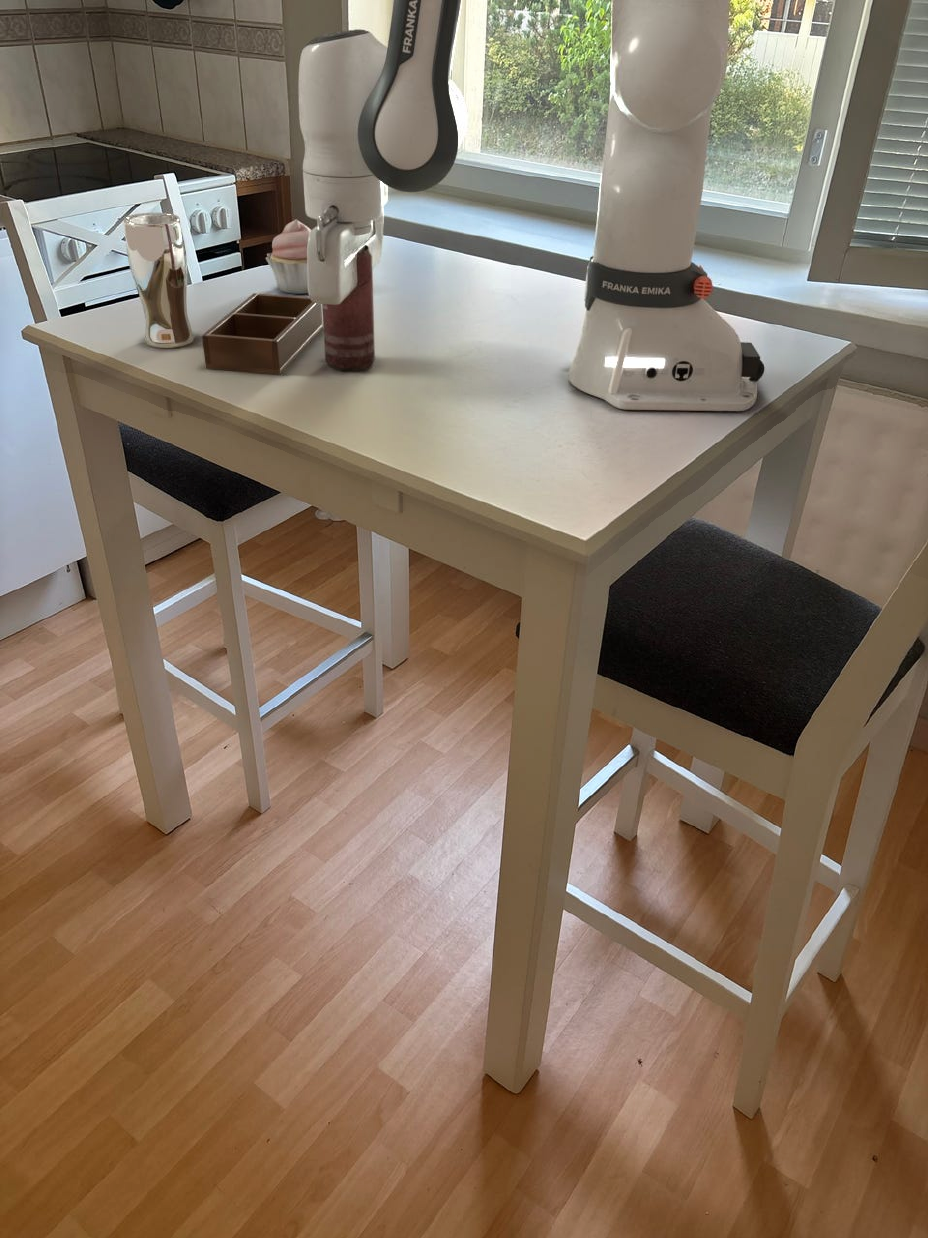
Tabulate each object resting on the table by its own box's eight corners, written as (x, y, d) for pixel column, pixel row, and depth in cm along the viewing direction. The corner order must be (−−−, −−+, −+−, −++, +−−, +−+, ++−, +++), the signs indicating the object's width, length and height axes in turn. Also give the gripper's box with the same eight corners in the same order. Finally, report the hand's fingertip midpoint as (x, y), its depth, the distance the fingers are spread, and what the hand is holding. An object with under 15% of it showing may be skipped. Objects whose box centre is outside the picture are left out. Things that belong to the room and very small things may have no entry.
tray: (322, 328, 129) (320, 298, 127) (280, 374, 115) (277, 341, 112) (256, 323, 130) (253, 292, 128) (205, 368, 116) (201, 335, 113)
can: (339, 376, 115) (333, 255, 107) (318, 359, 119) (310, 243, 111) (384, 368, 117) (381, 250, 109) (362, 352, 122) (357, 237, 114)
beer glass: (183, 351, 120) (165, 226, 112) (132, 346, 121) (110, 222, 113) (206, 334, 126) (190, 214, 117) (157, 330, 127) (138, 210, 118)
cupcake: (298, 301, 139) (293, 229, 133) (255, 288, 144) (249, 218, 138) (343, 288, 145) (340, 219, 140) (301, 276, 150) (296, 209, 144)
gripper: (346, 219, 98) (352, 350, 106) (391, 183, 115) (393, 299, 123) (288, 215, 99) (297, 346, 107) (340, 180, 116) (345, 295, 124)
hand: (349, 320), depth 115 cm, fingers closed
